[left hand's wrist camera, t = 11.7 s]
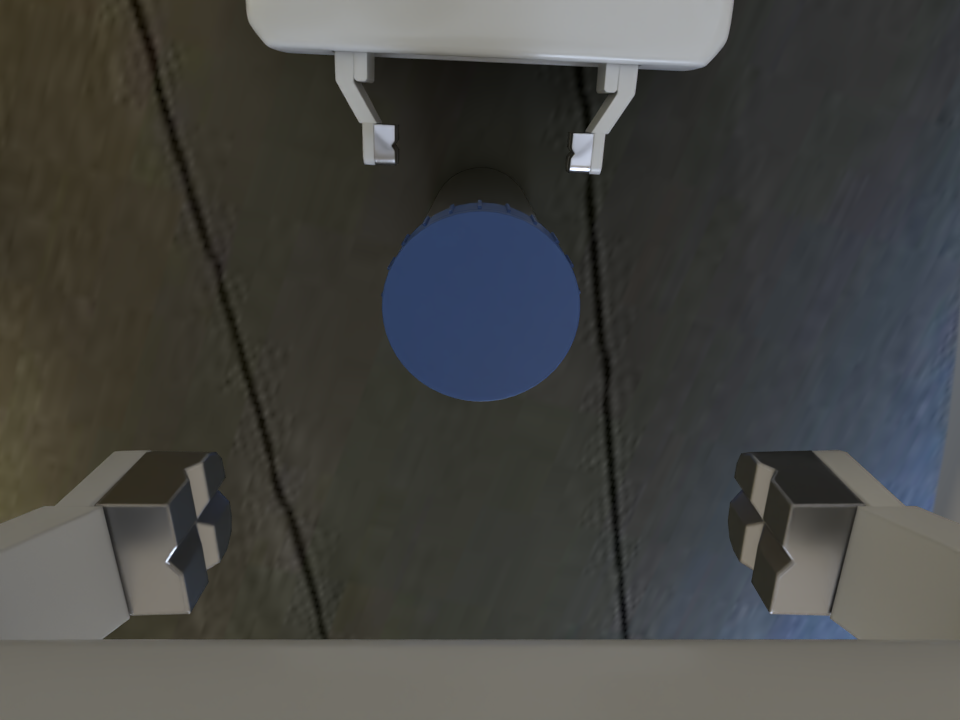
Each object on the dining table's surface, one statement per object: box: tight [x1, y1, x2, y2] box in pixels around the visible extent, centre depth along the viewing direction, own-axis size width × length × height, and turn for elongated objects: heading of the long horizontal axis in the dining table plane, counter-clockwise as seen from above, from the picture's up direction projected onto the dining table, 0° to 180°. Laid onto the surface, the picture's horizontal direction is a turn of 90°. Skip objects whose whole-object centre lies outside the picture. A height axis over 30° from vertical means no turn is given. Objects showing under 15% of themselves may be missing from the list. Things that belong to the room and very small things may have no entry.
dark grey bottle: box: [426, 168, 539, 222], centre depth 28 cm, size 5×5×18 cm
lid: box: [382, 200, 580, 401], centre depth 20 cm, size 6×6×2 cm
